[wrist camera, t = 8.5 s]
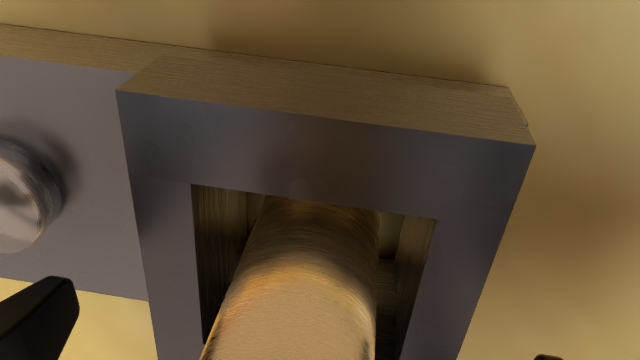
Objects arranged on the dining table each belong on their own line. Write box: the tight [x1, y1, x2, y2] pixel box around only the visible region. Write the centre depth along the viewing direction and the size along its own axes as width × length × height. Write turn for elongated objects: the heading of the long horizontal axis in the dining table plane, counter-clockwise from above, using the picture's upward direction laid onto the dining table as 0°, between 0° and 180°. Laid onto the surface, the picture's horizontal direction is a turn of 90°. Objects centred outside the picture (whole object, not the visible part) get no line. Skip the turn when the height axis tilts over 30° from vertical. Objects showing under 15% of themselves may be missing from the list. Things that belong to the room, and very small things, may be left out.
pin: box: [200, 195, 380, 360], centre depth 10 cm, size 4×4×9 cm
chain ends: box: [0, 24, 536, 360], centre depth 14 cm, size 15×20×5 cm
